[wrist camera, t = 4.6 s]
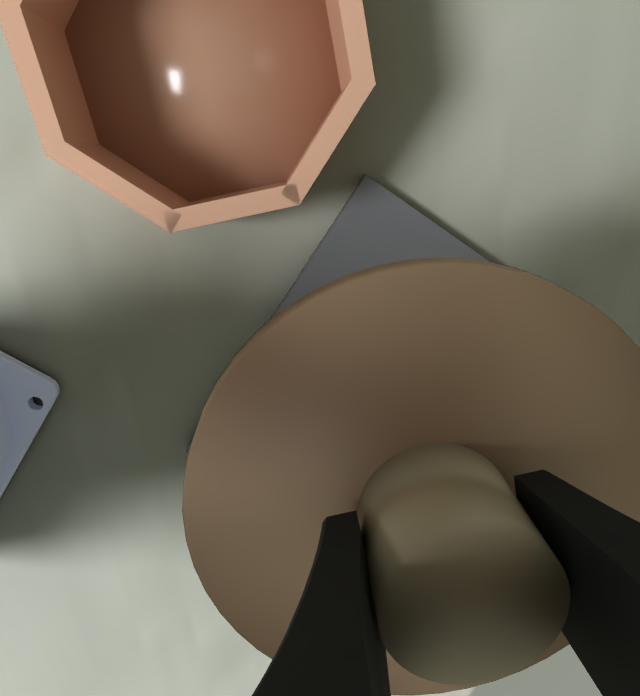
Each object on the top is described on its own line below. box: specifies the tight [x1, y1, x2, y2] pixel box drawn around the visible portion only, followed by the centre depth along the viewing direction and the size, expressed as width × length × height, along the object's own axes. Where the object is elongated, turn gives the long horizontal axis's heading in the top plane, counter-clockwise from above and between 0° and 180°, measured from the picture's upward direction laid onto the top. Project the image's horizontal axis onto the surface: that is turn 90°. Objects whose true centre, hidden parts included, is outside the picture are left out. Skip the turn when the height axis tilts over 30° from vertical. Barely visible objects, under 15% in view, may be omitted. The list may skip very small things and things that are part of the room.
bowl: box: [0, 0, 376, 233], centre depth 16 cm, size 9×9×4 cm
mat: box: [186, 175, 490, 453], centre depth 22 cm, size 12×10×1 cm
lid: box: [182, 257, 640, 695], centre depth 11 cm, size 10×10×4 cm
